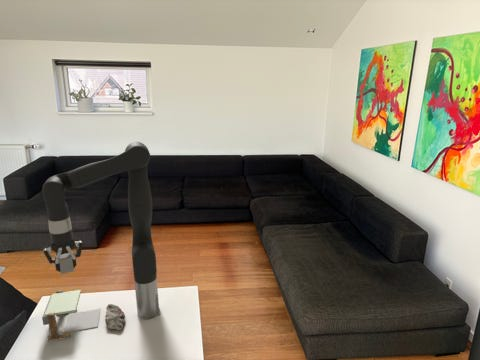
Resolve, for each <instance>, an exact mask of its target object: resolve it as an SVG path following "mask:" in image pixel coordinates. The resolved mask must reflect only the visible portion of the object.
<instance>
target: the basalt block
mask: <svg viewBox="0 0 480 360" xmlns="http://www.w3.org/2000/svg"><path fill="white" fill-rule="evenodd" d="M59 265H60V271H61V272H60V274H61V275H65V274H69V273H72V272H75V268H74V267H73V261H72V256H70V254H69V253H67V254H63V255H60V259H59Z"/></svg>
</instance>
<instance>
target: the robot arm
mask: <svg viewBox="0 0 480 360" xmlns="http://www.w3.org/2000/svg"><path fill="white" fill-rule="evenodd" d="M150 161H151V153H150V150H149V149H148V147H147V146H146V144H144V143H143V142H140V141H132V142H130V143H129V144H128V145H127V146H126V148H125V150H124V151H123V152H122V153H119V154H118V155H116V156H113V157H111V158H108V159H104V160H100V161H96V162H91V163H87V164H85V165H82V166H79V167H77V168H75V169H72V170H69V171H66V172H62V173H58V174H55V175H52V176H50V177H48V178H47V179H46V180H45V182H44V183H43V185H42V189H41V192H42V193H41V194H42V199H43V201H44V204H45V207H46V212H47V218H48V219H47V221H48V231H49V237H50V246H49V247H43V249H42V250H43V254H44V255H45V257H46V259H47V262H48V263H49V264H52V265H53V264H54V267H55V271H56V272H60V273H61V271H60V265H59V259H60V255H63V254H67V253H69V254H70V256H72V261H73V267H74V269H76V267H77V258H80V257H81V255H82V251H83V250H82V249H83V243H84V242H83V241H82V240H78V241H75V239H74V236H73V235H74V234H73V228H72V226H73V225H72V220H71V218H70V213H69V212H70V211H69V205H68V204H67V202H66V198H65V197H66V196H65V192H66V191H69V190H72V189H79V188H80V189H81V188H83V187H85V186H88V185H91V184H93V183H96V182H99V181H100V180H103V179H106V178H109V177H111V176H114V175H118V174H120V173H121V174H122V173H125V172H128V187H127V188H128V189H127V196H128V197H127V203H128V204H127V205H128V207H127V208H128V215H129V220H130V225H131V230H132V246H131V258H132V261H131V262H132V270H133V280H134V290H135V292H134V293H135V300H136V302H135V303H136V311H137V316H138V317H139V318H140V319H143V320H151V319H153V318H155V317H156V316H160V304H159V303H160V301H159V290H158V278H157V273H158V272H157V271H158V269H157V258H156V257H157V256H156V255H157V254H156V251H155V247H154V244H153V243H154V242H153V239H152V233H151V231H152V229H151V228H152V220H153V198H152V191H151V187H150V186H151V185H150V181H149V176H148V173H149V172H148V167H149V162H150ZM75 246H76V252H75V253H74V251H73V249H74V247H75ZM52 251H53V252H54V253H55V255H54V258H52V256H51V252H52Z"/></svg>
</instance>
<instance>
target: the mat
mask: <svg viewBox="0 0 480 360" xmlns="http://www.w3.org/2000/svg"><path fill="white" fill-rule="evenodd" d="M100 316H101V308H96V309H90V310H85V311H77V312H75V313H69V314H67V319H66V322H65V324H64V329H63V331H62V334H65V333H72V332H77V331H83V330H88V329H89V330H90V329H95V328H98V327H99V323H100Z"/></svg>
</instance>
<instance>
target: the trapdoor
mask: <svg viewBox="0 0 480 360" xmlns="http://www.w3.org/2000/svg"><path fill="white" fill-rule="evenodd" d="M81 294H82V290H81V289H76V290H70V291H63V292H62V293H56V292H55V293H52V295H50V296H49V299H48V302H47V304H46V307H45V309H44V311H43V314H42V317H41V318H42V319H41V320H42V325H43V326H47V325H49V323H48V317H47V314H49V313H55V316H61V315H60V314H63V315H67V314H66V313H69V314H70V313H72V312H75V313H76V309H77V310H78V304H79V302H80V296H81Z"/></svg>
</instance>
